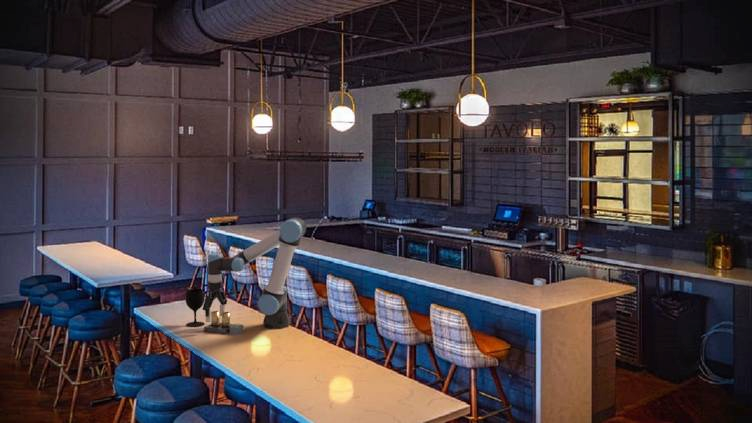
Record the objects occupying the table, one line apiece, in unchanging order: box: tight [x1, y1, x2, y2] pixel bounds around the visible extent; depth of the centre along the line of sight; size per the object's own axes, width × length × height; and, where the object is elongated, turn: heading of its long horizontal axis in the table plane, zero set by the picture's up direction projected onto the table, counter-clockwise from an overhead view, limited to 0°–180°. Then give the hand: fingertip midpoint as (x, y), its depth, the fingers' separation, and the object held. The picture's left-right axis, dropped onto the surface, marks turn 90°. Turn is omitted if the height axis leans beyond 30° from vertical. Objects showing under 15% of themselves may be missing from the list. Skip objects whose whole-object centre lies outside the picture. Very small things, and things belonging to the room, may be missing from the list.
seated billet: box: [221, 311, 231, 328], centre depth 350 cm, size 4×4×10 cm
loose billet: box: [210, 310, 220, 327], centre depth 353 cm, size 4×4×10 cm
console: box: [229, 323, 245, 336], centre depth 347 cm, size 6×5×4 cm
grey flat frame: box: [203, 322, 235, 335], centre depth 352 cm, size 11×14×2 cm
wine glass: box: [184, 288, 206, 328], centre depth 361 cm, size 10×10×20 cm
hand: (215, 319), depth 352 cm, fingers open, 13 cm apart
